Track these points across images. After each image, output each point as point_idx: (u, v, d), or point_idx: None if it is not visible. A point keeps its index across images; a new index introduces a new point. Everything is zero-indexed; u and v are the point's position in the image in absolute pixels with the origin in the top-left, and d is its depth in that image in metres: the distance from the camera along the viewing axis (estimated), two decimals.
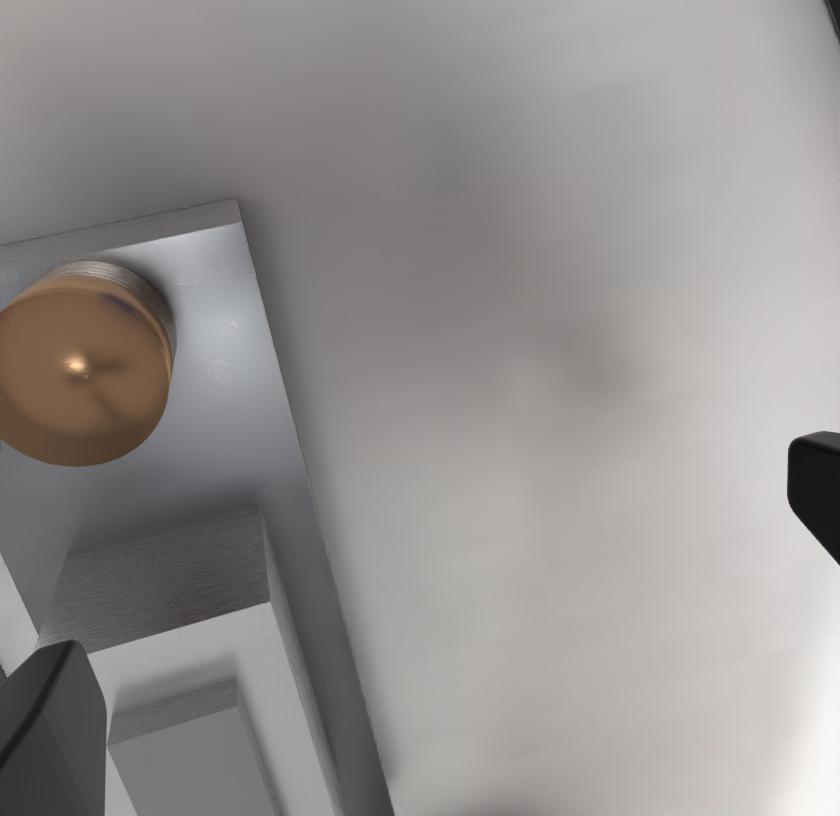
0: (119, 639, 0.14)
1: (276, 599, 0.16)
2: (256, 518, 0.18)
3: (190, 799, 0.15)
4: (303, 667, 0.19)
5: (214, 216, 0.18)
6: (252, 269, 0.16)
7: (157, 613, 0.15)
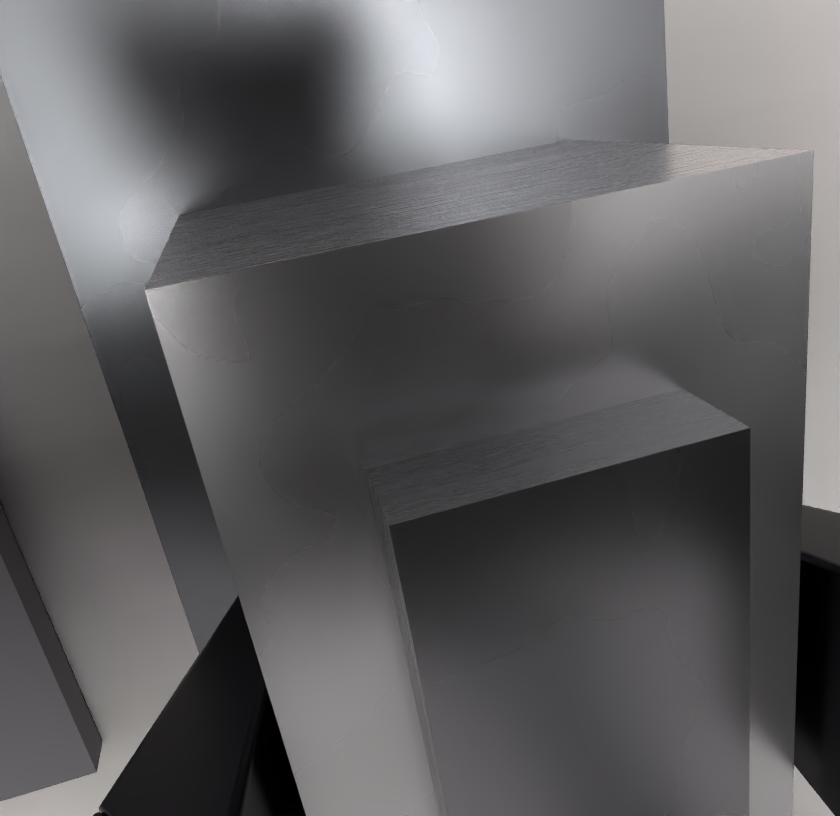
0: (406, 231, 0.05)
1: None
2: (584, 143, 0.08)
3: (573, 711, 0.05)
4: None
5: None
6: None
7: (481, 202, 0.05)
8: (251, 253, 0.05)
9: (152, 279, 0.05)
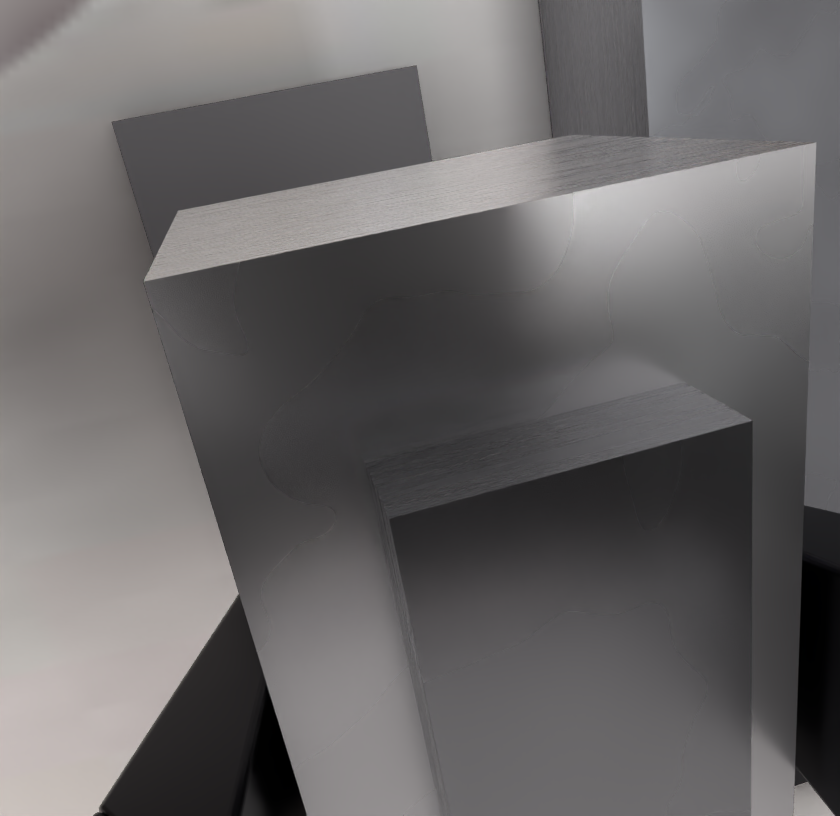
0: (405, 222, 0.05)
1: None
2: (585, 137, 0.08)
3: (574, 706, 0.05)
4: None
5: None
6: None
7: (481, 195, 0.05)
8: (250, 245, 0.05)
9: (151, 271, 0.05)
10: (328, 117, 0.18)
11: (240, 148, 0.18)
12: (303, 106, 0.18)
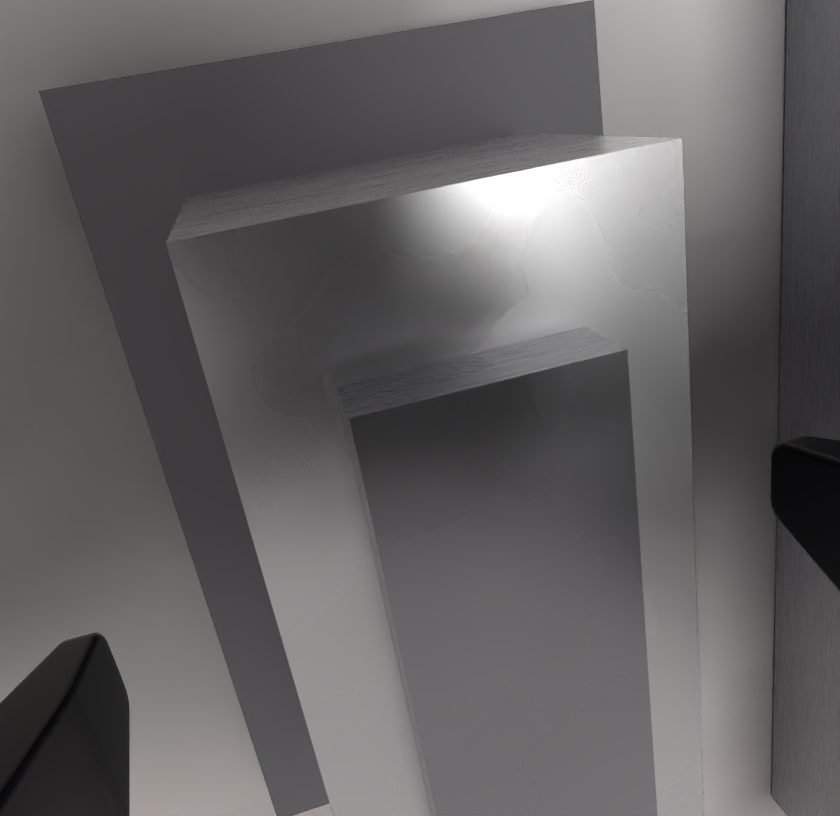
0: (364, 198, 0.06)
1: None
2: (529, 135, 0.10)
3: (498, 576, 0.07)
4: None
5: None
6: None
7: (426, 180, 0.07)
8: (246, 218, 0.07)
9: (171, 236, 0.06)
10: (436, 92, 0.10)
11: (279, 144, 0.10)
12: (394, 70, 0.10)
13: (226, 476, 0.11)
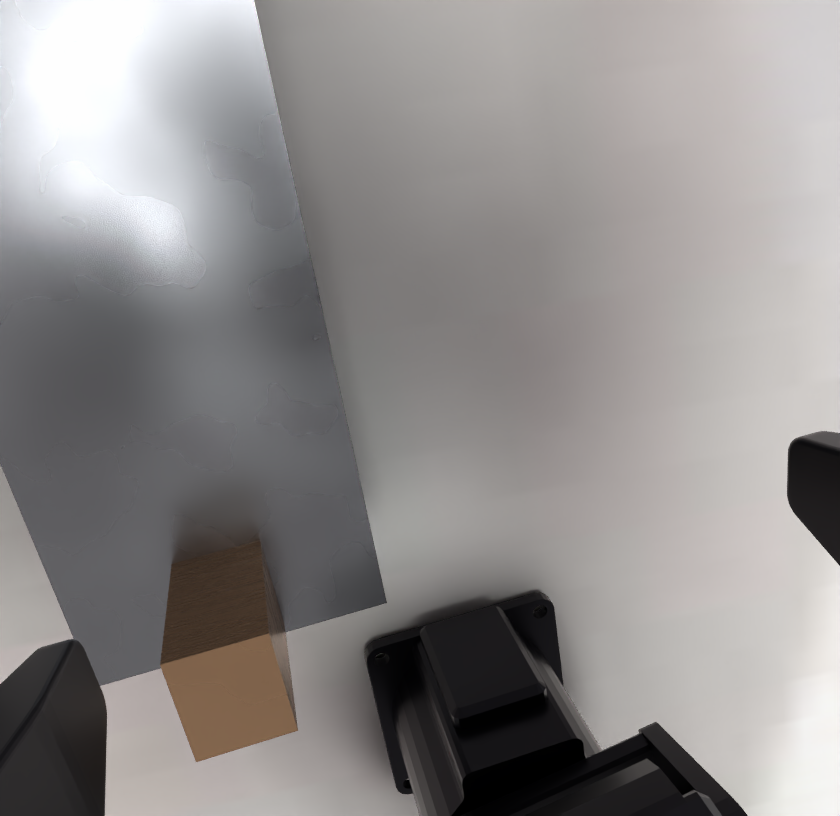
0: None
1: None
2: None
3: None
4: None
5: None
6: None
7: None
8: None
9: None
10: None
11: None
12: None
13: None
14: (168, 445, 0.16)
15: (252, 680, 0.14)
